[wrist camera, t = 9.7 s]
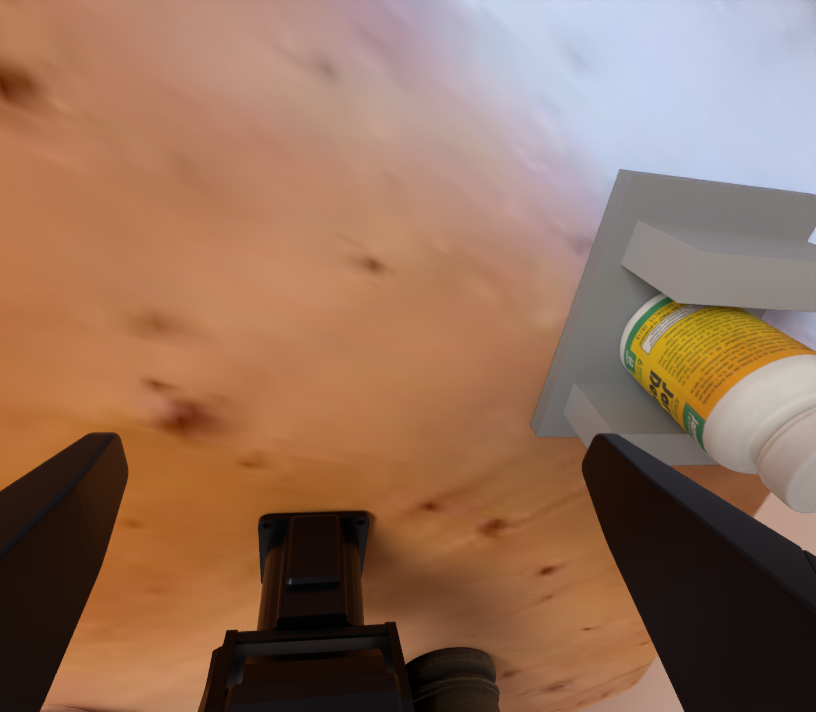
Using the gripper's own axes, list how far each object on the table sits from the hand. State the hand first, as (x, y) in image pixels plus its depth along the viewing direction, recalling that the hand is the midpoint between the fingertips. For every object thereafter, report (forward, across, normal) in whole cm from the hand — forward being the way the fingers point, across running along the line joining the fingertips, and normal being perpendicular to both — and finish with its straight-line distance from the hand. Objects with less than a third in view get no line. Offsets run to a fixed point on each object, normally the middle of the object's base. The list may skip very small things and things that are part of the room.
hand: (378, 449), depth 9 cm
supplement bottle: (+12, -16, +3) cm, 20 cm away
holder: (+12, -16, +3) cm, 21 cm away
